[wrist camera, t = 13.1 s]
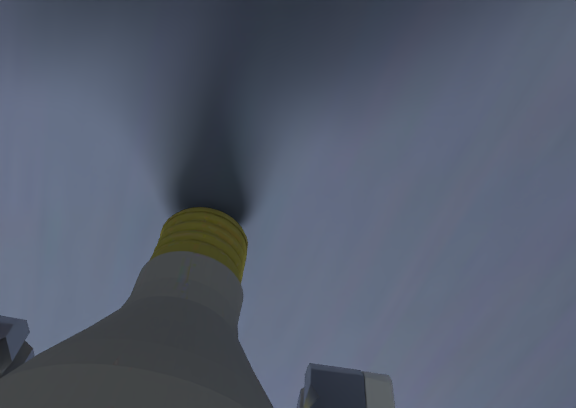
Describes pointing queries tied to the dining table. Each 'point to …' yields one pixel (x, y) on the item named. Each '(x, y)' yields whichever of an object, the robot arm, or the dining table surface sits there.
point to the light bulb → (158, 333)
